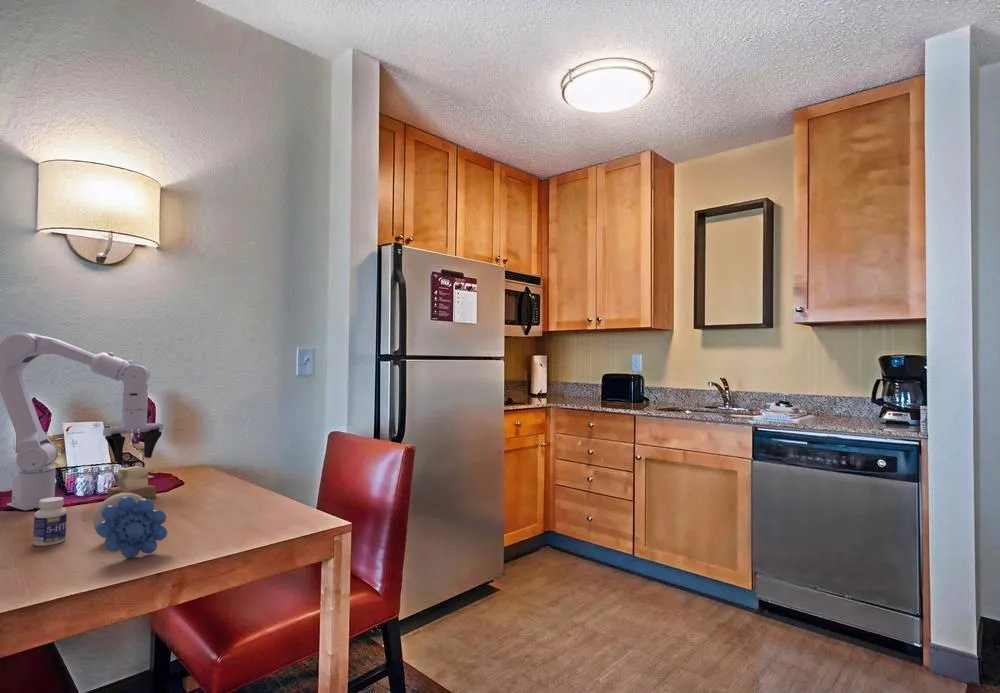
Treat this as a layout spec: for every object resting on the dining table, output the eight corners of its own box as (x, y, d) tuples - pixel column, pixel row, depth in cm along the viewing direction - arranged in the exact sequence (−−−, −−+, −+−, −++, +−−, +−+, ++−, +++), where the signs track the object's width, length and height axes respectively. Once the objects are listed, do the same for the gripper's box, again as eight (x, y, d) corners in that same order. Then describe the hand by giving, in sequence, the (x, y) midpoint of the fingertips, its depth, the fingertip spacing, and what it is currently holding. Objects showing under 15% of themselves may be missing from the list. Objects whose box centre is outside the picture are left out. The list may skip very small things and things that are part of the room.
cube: (117, 487, 149) (118, 469, 149) (137, 484, 153) (137, 466, 153) (128, 490, 146) (128, 471, 146) (147, 486, 151) (148, 468, 151)
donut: (94, 547, 113) (95, 498, 113) (90, 543, 115) (92, 495, 115) (150, 537, 120) (152, 490, 120) (146, 533, 122) (147, 487, 122)
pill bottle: (47, 547, 112) (48, 503, 112) (26, 545, 113) (27, 501, 113) (72, 539, 117) (73, 497, 118) (52, 537, 118) (53, 495, 119)
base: (107, 499, 148) (107, 488, 148) (138, 493, 155) (138, 482, 155) (124, 504, 144) (125, 492, 144) (155, 497, 152) (156, 486, 152)
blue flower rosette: (96, 571, 101) (98, 505, 101) (94, 560, 106) (96, 497, 106) (170, 558, 108) (172, 496, 108) (164, 548, 113) (166, 489, 113)
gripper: (114, 412, 142) (112, 465, 142) (170, 408, 155) (168, 457, 155) (99, 410, 146) (97, 462, 145) (155, 406, 158) (153, 454, 158)
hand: (133, 459), depth 150 cm, fingers open, 7 cm apart
